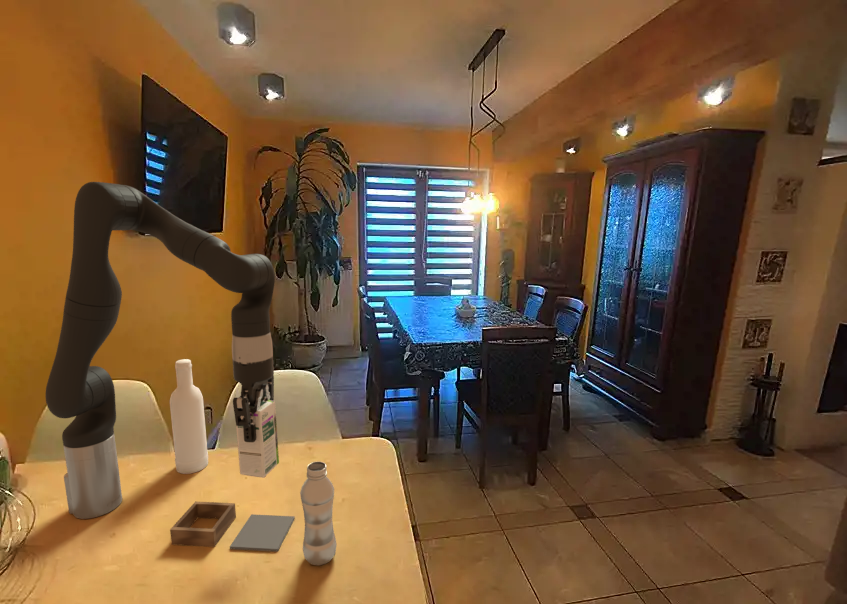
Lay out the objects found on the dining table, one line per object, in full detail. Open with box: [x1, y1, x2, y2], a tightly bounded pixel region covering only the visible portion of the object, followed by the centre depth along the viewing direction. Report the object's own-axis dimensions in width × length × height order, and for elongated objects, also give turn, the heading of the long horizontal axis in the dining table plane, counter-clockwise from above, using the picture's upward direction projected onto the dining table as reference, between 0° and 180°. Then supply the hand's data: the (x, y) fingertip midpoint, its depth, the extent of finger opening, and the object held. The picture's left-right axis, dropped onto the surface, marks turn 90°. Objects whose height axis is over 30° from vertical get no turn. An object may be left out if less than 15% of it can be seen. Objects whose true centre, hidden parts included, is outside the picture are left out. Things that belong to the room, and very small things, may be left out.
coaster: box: [229, 513, 296, 553], centre depth 94 cm, size 10×10×1 cm
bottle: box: [169, 358, 209, 475], centre depth 116 cm, size 8×8×30 cm
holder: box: [169, 501, 237, 548], centre depth 94 cm, size 9×9×4 cm
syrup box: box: [235, 400, 280, 478], centre depth 90 cm, size 6×6×14 cm
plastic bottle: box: [299, 460, 337, 566], centre depth 86 cm, size 6×7×20 cm
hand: (257, 433), depth 90 cm, fingers closed on syrup box, 6 cm apart
